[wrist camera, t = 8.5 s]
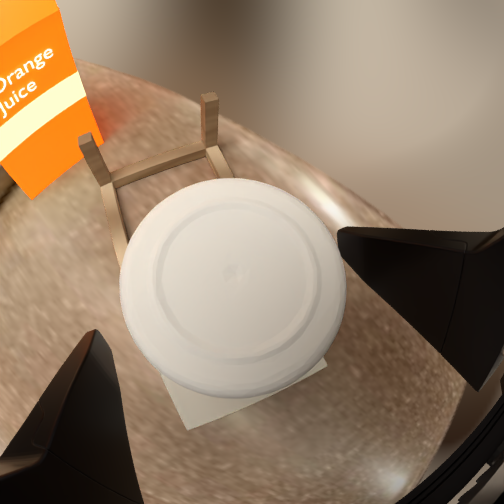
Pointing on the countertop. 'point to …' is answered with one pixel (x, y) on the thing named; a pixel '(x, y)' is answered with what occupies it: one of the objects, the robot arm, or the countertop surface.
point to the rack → (153, 167)
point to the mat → (214, 401)
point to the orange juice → (39, 96)
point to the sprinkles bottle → (232, 288)
